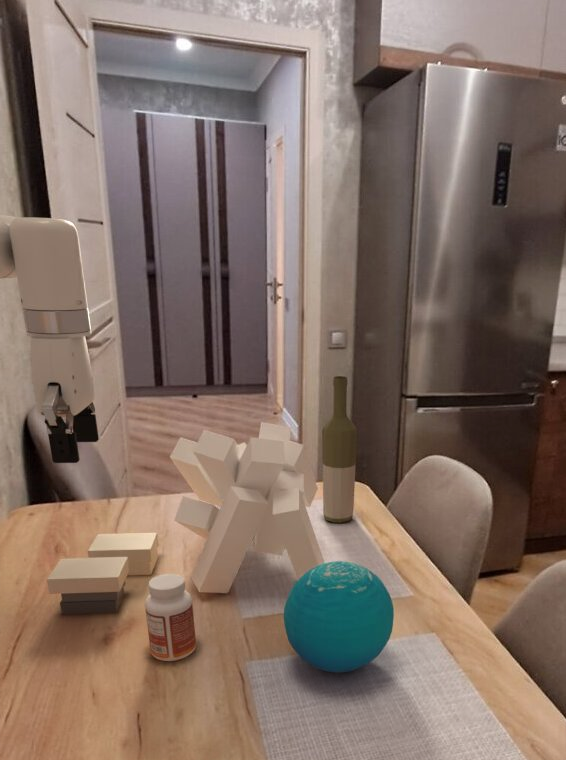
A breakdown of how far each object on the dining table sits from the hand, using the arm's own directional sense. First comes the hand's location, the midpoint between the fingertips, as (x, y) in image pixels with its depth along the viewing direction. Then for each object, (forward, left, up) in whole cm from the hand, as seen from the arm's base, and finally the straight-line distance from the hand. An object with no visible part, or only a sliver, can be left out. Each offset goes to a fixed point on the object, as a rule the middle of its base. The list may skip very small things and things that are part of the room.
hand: (77, 451), depth 92 cm
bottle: (+39, +37, -26) cm, 60 cm away
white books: (0, +17, -26) cm, 31 cm away
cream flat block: (-2, +4, -22) cm, 23 cm away
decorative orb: (+35, -15, -26) cm, 47 cm away
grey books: (-2, +4, -26) cm, 27 cm away
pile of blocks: (+22, +17, -26) cm, 38 cm away
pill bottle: (+12, -10, -26) cm, 31 cm away
